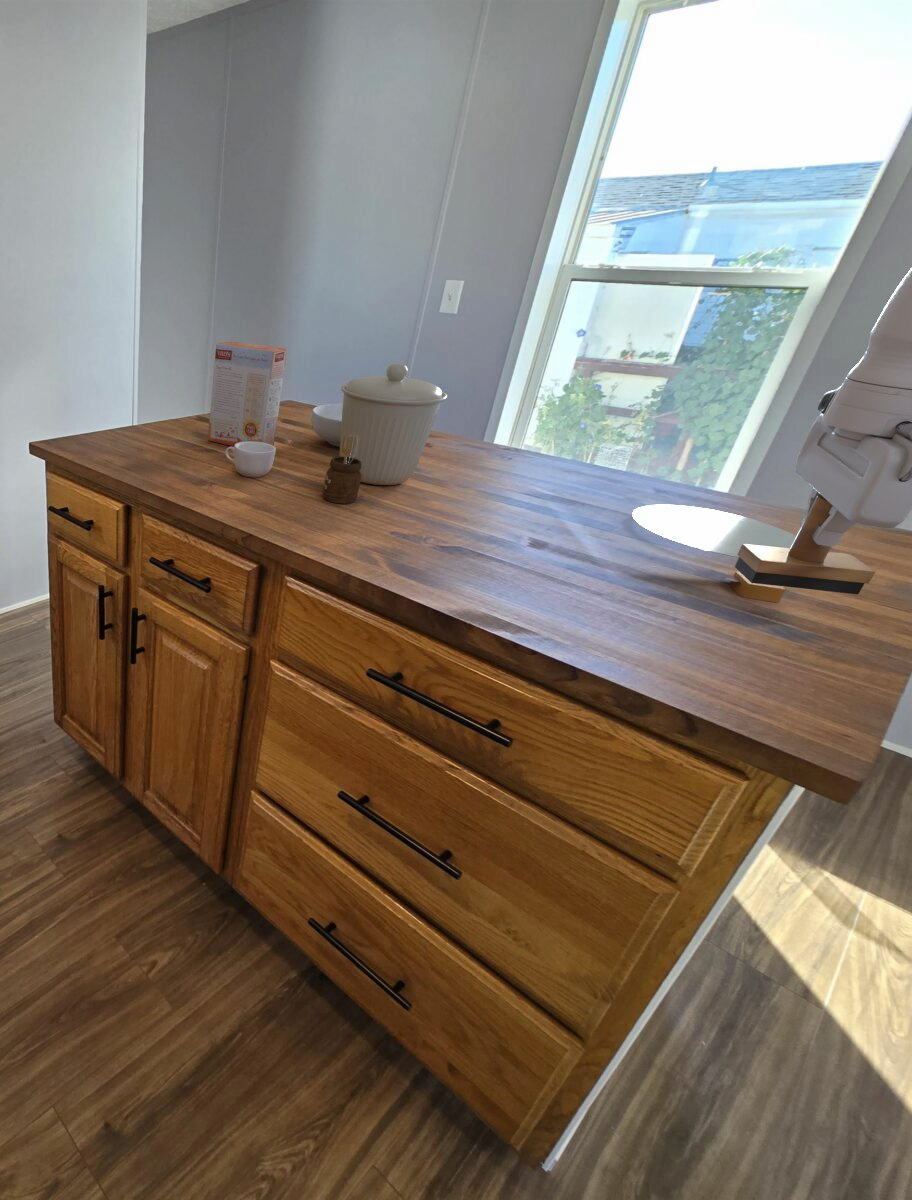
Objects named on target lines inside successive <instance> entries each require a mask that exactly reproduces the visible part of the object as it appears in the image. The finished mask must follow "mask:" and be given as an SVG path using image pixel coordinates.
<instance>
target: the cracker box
mask: <svg viewBox="0 0 912 1200" xmlns="http://www.w3.org/2000/svg"><path fill="white" fill-rule="evenodd" d="M287 352H288V348H286V347H276V346H270V345H262V344H255V343H247V342H239V341H224V342H219V343H216V345H215V353H214V356H215V357H214V367H213V377H212V388H211V400H210V411H209V422H208V432H207V441H209V442H212V443H216V444H221V445H226V446H229V447H235V444H236V443H239V442H246V441H253V442H262V443H267V444H270V445H273V446H274V447H275V439H276V432H277V426H278V418H279V410H280V404H281V397H282V389H283V382H284V375H285V367H286V359H287Z"/></svg>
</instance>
